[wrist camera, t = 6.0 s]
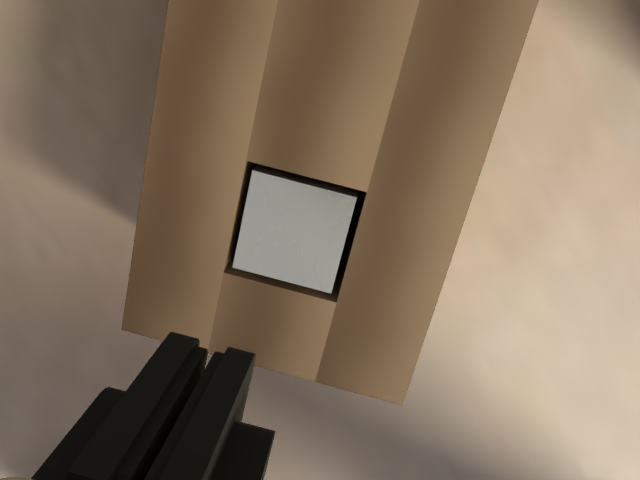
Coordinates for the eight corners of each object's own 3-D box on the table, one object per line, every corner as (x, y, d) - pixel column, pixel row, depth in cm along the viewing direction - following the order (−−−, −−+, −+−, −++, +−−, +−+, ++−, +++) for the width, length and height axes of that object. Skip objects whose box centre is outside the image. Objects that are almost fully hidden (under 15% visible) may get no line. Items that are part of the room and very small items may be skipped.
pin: (365, 156, 30) (356, 197, 22) (345, 231, 31) (331, 293, 24) (286, 136, 30) (252, 170, 23) (270, 211, 31) (232, 267, 24)
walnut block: (574, -248, 25) (671, -395, 16) (398, 311, 33) (402, 405, 25) (290, -317, 25) (239, -496, 17) (189, 255, 34) (121, 329, 25)
